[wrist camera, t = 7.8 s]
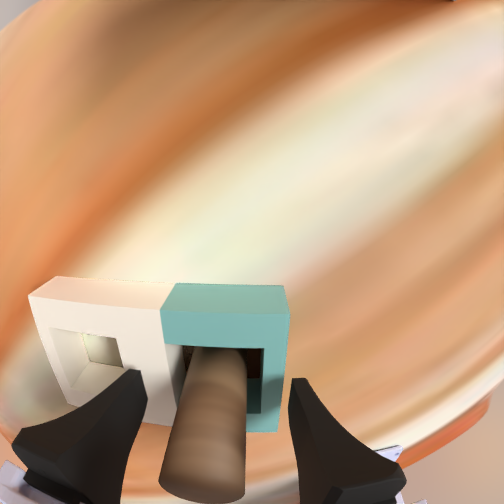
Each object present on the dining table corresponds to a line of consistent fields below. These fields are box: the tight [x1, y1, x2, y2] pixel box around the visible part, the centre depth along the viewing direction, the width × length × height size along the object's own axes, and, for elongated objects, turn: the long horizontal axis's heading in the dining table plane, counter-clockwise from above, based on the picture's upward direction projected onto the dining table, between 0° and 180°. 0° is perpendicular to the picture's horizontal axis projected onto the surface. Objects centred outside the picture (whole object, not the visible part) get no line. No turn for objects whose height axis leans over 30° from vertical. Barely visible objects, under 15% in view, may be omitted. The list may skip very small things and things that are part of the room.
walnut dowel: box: [159, 346, 248, 504], centre depth 11 cm, size 3×3×9 cm
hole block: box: [28, 276, 290, 432], centre depth 14 cm, size 8×14×3 cm, turn 89°
